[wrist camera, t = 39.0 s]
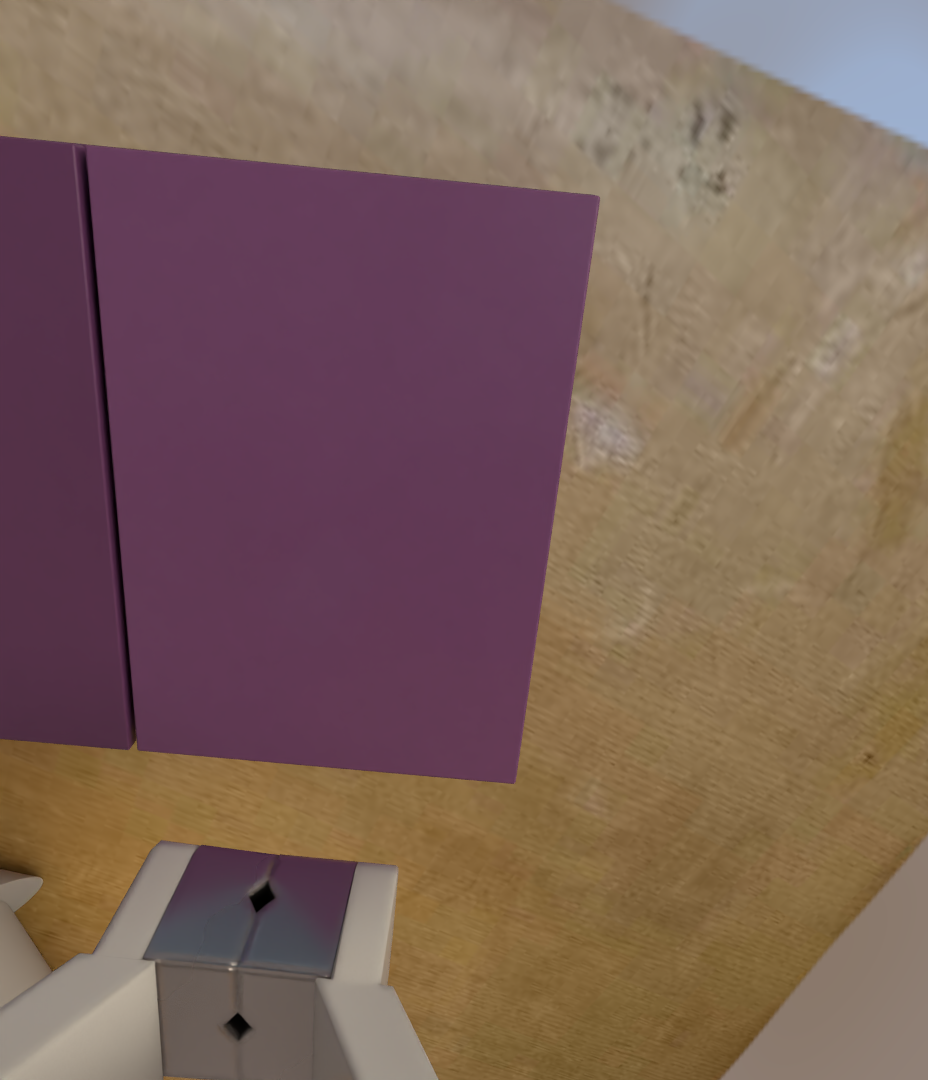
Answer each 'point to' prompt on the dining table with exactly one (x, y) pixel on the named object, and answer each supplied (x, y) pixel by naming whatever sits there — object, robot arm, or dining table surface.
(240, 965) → the robot arm
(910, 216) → the dining table surface
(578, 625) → the dining table surface
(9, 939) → the elbow connector
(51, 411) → the carton
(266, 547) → the flap
